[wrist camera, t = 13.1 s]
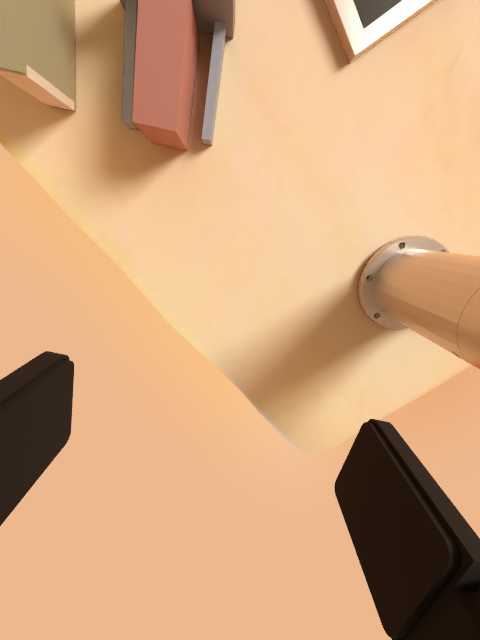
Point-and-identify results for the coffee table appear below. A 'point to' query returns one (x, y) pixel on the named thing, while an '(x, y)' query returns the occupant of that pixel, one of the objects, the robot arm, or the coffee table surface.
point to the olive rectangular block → (40, 49)
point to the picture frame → (370, 21)
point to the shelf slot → (219, 19)
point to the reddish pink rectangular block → (165, 71)
